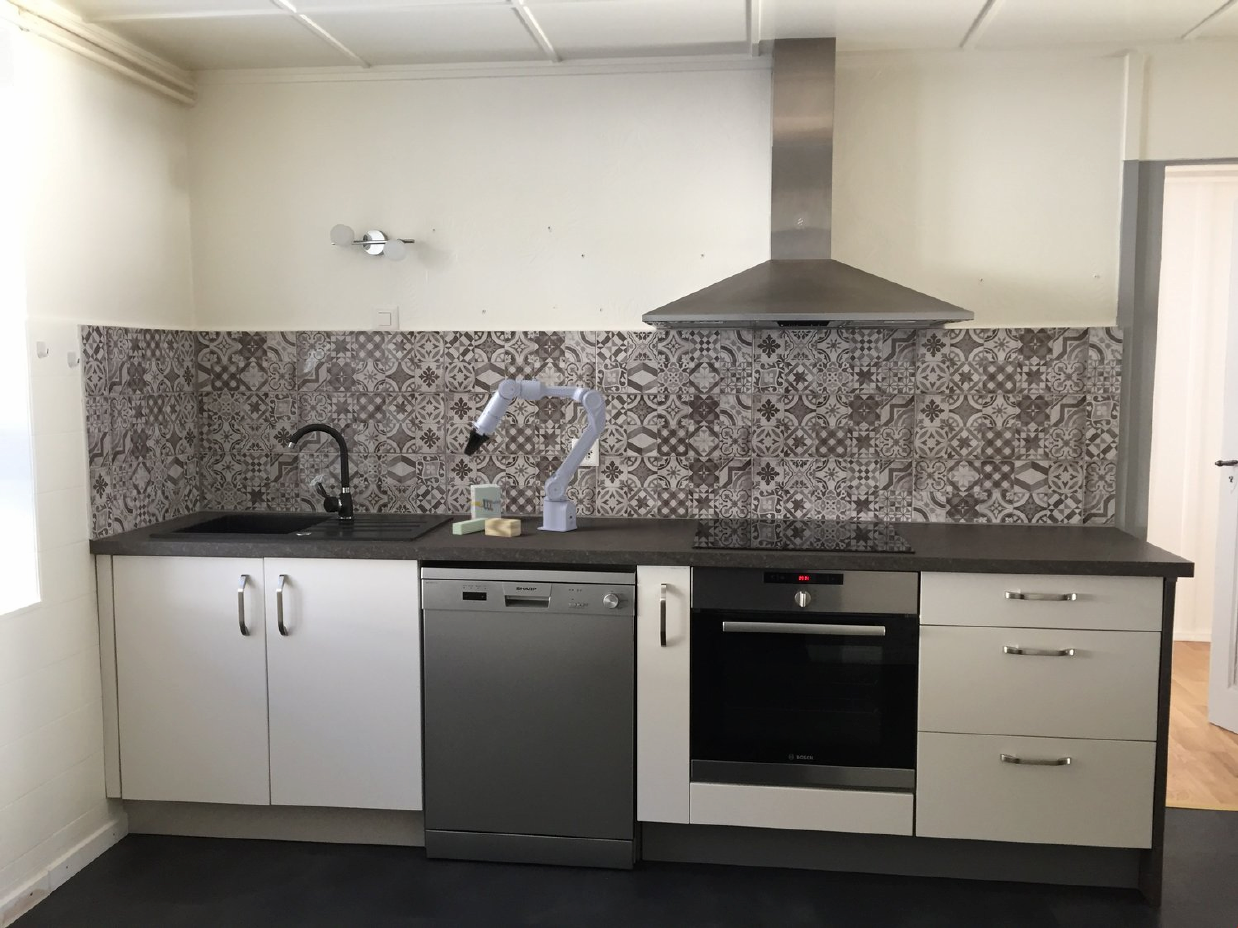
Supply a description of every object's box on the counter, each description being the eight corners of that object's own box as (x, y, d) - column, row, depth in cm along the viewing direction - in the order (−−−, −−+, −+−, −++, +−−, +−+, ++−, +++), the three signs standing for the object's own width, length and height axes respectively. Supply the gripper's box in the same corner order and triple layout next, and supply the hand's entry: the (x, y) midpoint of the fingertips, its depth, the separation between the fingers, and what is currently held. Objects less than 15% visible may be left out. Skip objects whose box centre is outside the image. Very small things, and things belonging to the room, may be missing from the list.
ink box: (470, 520, 314) (469, 484, 313) (496, 519, 316) (496, 483, 315) (474, 524, 305) (474, 486, 304) (501, 523, 308) (501, 486, 307)
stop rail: (489, 528, 298) (489, 518, 298) (461, 534, 286) (461, 524, 285) (481, 527, 299) (481, 517, 299) (452, 533, 287) (452, 523, 287)
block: (520, 535, 286) (520, 520, 286) (510, 537, 282) (510, 522, 281) (495, 532, 290) (495, 517, 290) (485, 535, 286) (485, 519, 286)
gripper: (482, 407, 299) (459, 445, 299) (478, 408, 284) (453, 448, 284) (502, 420, 299) (479, 458, 299) (499, 421, 285) (474, 460, 285)
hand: (468, 454), depth 292 cm, fingers open, 7 cm apart
